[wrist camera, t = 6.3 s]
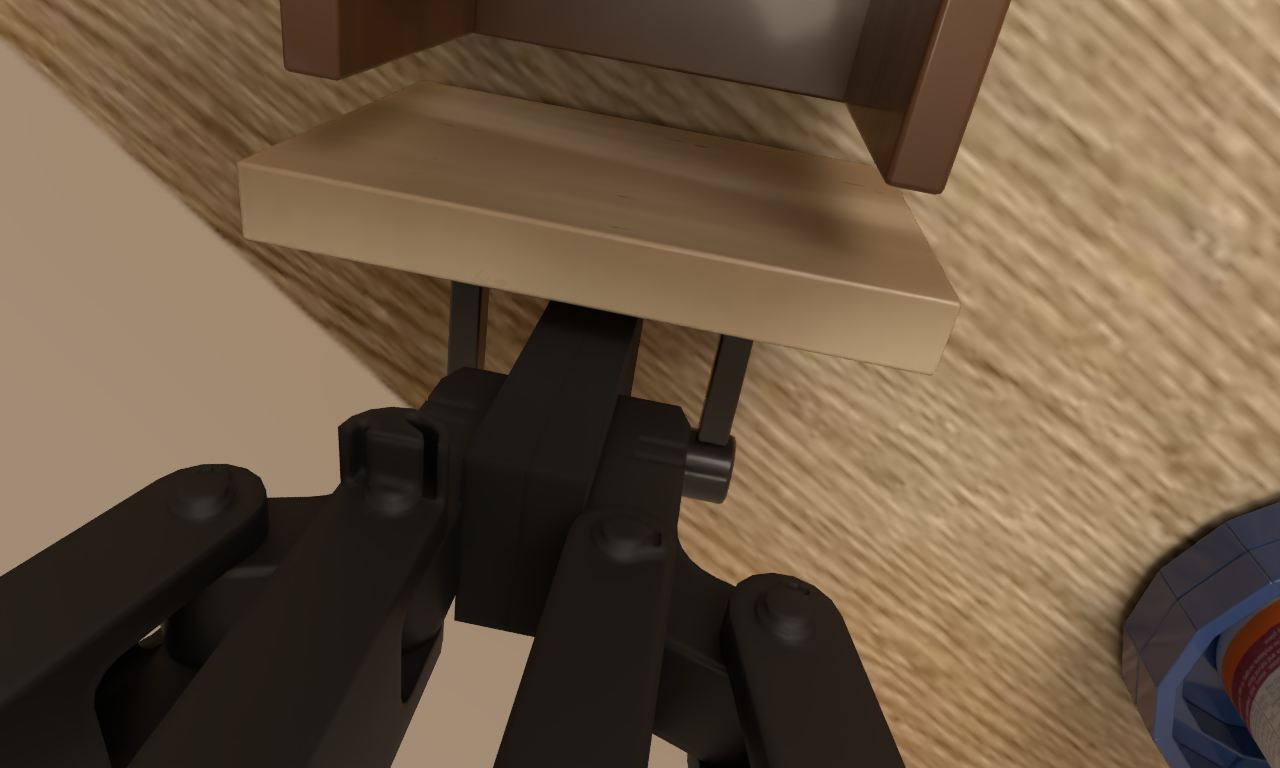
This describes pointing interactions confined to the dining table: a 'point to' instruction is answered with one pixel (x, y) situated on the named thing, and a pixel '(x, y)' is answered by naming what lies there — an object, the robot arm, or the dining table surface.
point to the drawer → (645, 177)
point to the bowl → (1200, 641)
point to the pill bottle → (1255, 675)
